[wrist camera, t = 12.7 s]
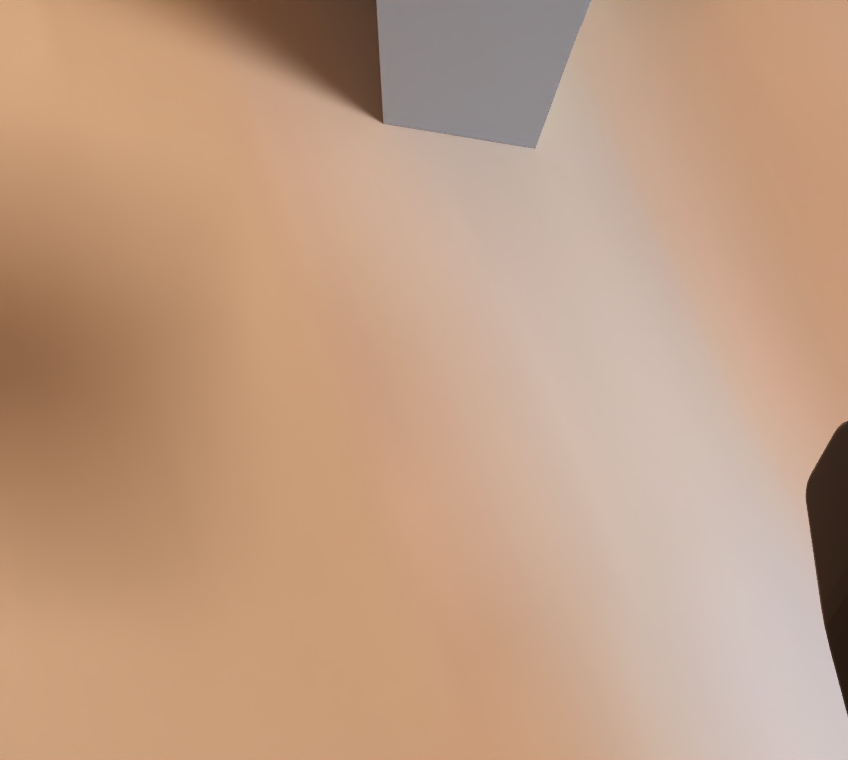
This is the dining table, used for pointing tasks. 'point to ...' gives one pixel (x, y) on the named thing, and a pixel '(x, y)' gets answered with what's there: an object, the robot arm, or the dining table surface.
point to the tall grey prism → (475, 64)
